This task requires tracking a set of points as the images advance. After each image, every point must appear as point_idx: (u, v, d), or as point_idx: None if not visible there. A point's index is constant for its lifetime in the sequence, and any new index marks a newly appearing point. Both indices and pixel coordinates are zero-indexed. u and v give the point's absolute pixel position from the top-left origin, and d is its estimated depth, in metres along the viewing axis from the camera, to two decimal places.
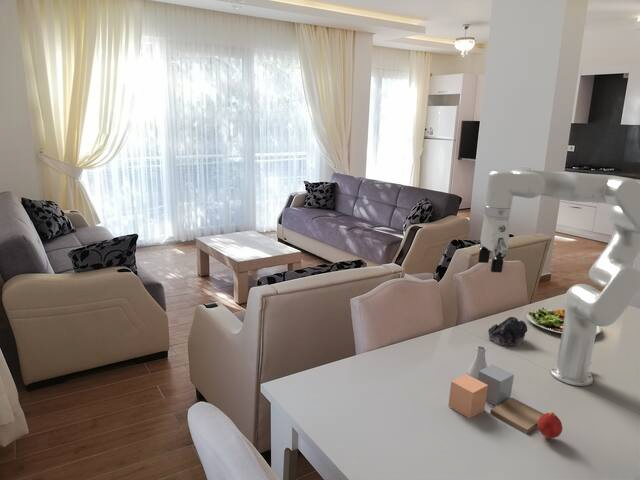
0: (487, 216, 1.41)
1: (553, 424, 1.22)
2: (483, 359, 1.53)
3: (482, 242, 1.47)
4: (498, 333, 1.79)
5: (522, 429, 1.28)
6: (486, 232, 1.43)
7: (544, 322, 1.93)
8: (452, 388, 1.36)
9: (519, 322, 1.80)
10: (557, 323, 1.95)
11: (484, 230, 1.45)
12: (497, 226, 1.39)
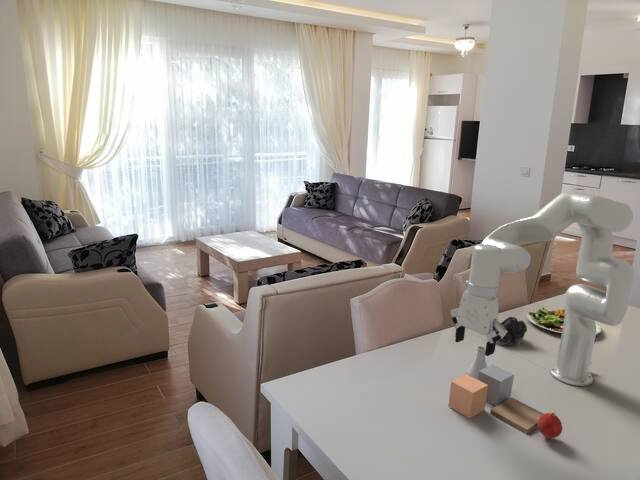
0: None
1: (553, 424, 1.22)
2: (483, 359, 1.53)
3: None
4: (498, 333, 1.79)
5: (522, 429, 1.28)
6: None
7: (544, 322, 1.93)
8: (452, 388, 1.36)
9: (519, 322, 1.80)
10: (557, 323, 1.95)
11: None
12: None
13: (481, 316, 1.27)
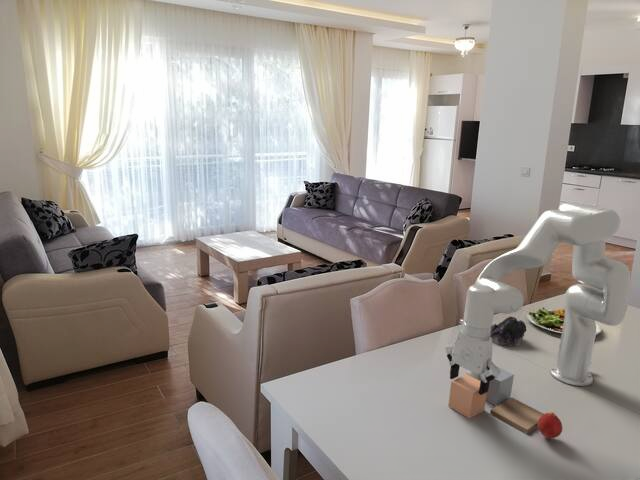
0: None
1: (553, 424, 1.22)
2: None
3: None
4: (497, 333, 1.79)
5: (522, 429, 1.28)
6: None
7: (544, 322, 1.93)
8: (452, 388, 1.36)
9: (518, 321, 1.80)
10: (557, 323, 1.95)
11: None
12: None
13: (475, 356, 1.29)
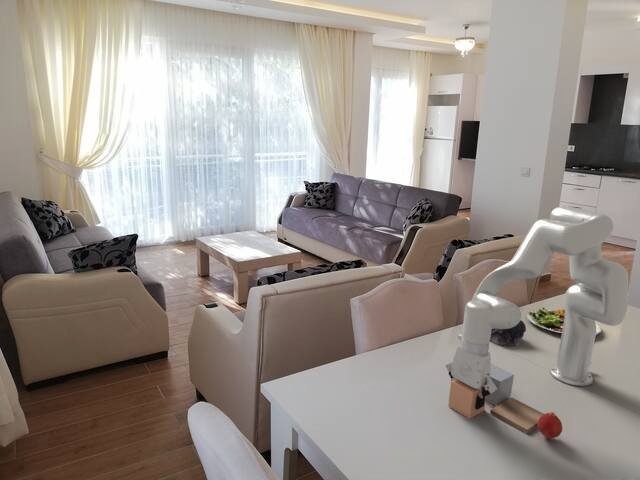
0: None
1: (553, 424, 1.22)
2: None
3: None
4: (497, 333, 1.79)
5: (522, 429, 1.28)
6: None
7: (544, 322, 1.93)
8: (452, 388, 1.36)
9: None
10: (557, 323, 1.95)
11: None
12: None
13: (474, 371, 1.30)
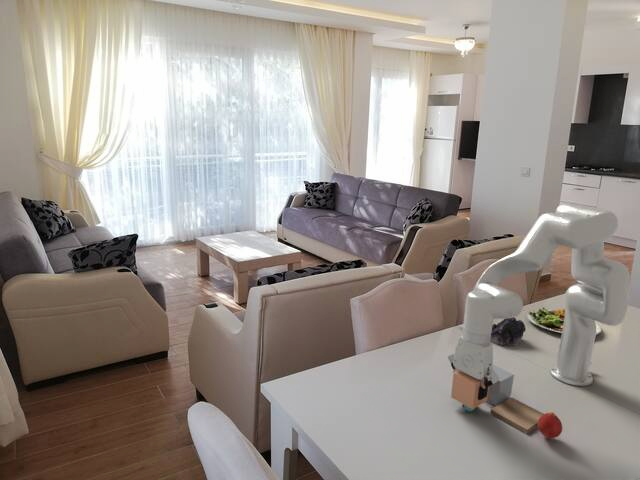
0: None
1: (553, 424, 1.22)
2: None
3: None
4: (496, 333, 1.79)
5: (522, 429, 1.28)
6: None
7: (544, 322, 1.93)
8: (454, 379, 1.35)
9: (518, 321, 1.81)
10: (557, 323, 1.95)
11: None
12: None
13: (476, 362, 1.30)
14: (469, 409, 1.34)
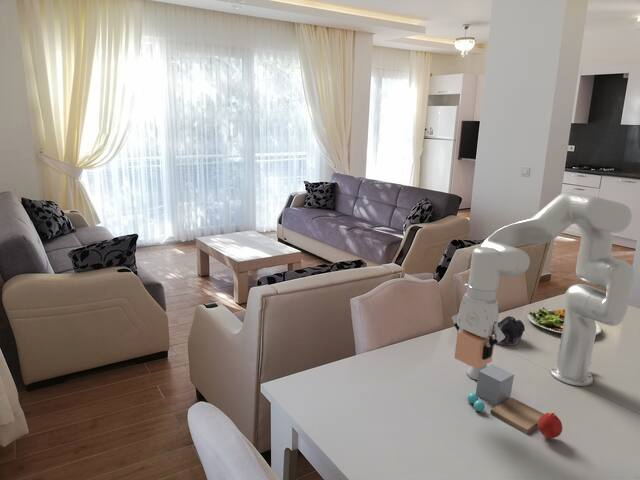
0: None
1: (553, 424, 1.22)
2: None
3: None
4: None
5: (522, 429, 1.28)
6: None
7: (544, 322, 1.93)
8: (458, 339, 1.32)
9: (517, 321, 1.81)
10: (557, 323, 1.95)
11: None
12: None
13: (481, 319, 1.27)
14: (481, 406, 1.35)
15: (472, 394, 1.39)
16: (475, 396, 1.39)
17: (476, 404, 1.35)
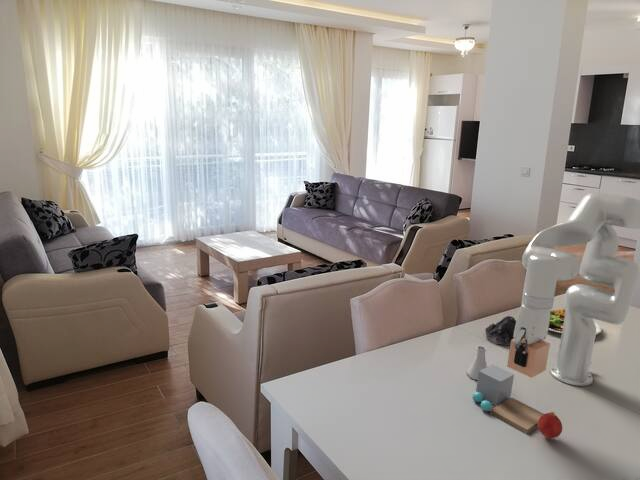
0: None
1: (553, 424, 1.22)
2: (483, 359, 1.53)
3: (534, 340, 1.25)
4: (495, 332, 1.79)
5: (522, 429, 1.28)
6: (543, 325, 1.26)
7: None
8: None
9: None
10: (557, 323, 1.95)
11: (539, 325, 1.25)
12: None
13: None
14: (490, 408, 1.35)
15: None
16: None
17: (489, 403, 1.35)
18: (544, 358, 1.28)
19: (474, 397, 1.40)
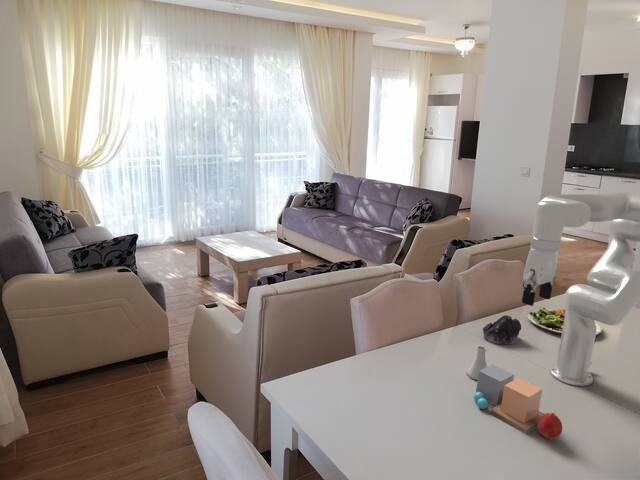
0: None
1: (553, 424, 1.22)
2: (483, 359, 1.53)
3: (542, 281, 1.34)
4: (493, 332, 1.80)
5: (522, 429, 1.28)
6: (550, 267, 1.34)
7: (545, 322, 1.94)
8: None
9: (513, 320, 1.82)
10: (558, 323, 1.95)
11: (547, 267, 1.33)
12: None
13: None
14: (485, 401, 1.36)
15: None
16: None
17: (482, 398, 1.37)
18: (536, 403, 1.32)
19: (476, 396, 1.40)
